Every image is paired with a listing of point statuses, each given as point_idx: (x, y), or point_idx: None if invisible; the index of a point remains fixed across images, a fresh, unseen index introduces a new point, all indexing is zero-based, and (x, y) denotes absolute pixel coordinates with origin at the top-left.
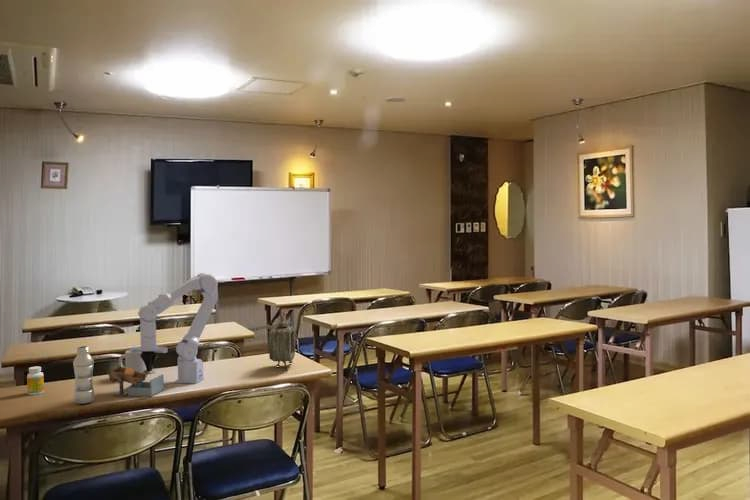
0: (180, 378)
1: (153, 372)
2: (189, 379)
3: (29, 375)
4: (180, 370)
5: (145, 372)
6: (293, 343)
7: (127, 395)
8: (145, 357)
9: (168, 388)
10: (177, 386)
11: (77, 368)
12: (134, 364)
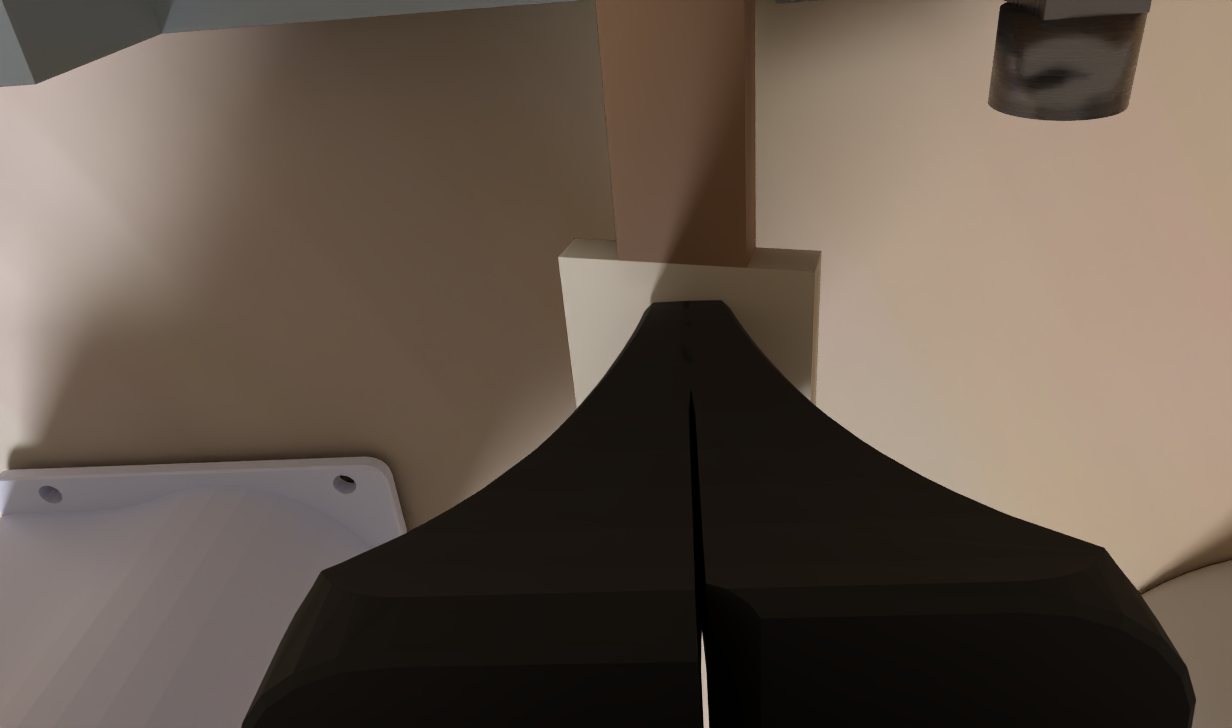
0: (249, 527)
1: (579, 361)
2: (104, 530)
3: None
4: (172, 642)
5: (691, 164)
6: None
7: None
8: (727, 531)
9: (223, 142)
10: (168, 292)
11: None
12: None
